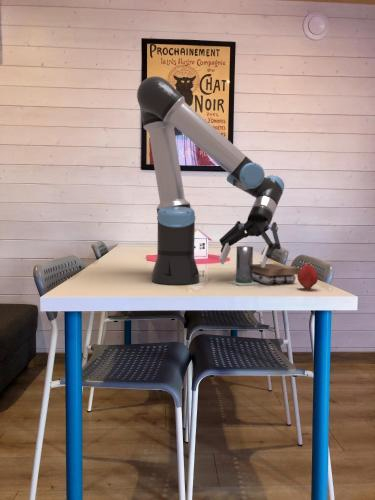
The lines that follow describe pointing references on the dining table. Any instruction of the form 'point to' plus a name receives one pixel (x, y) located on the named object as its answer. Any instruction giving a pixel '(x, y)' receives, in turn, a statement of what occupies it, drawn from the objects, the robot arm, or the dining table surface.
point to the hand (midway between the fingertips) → (241, 263)
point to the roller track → (273, 278)
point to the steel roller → (244, 264)
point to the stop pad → (244, 283)
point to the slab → (275, 269)
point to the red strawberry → (307, 276)
